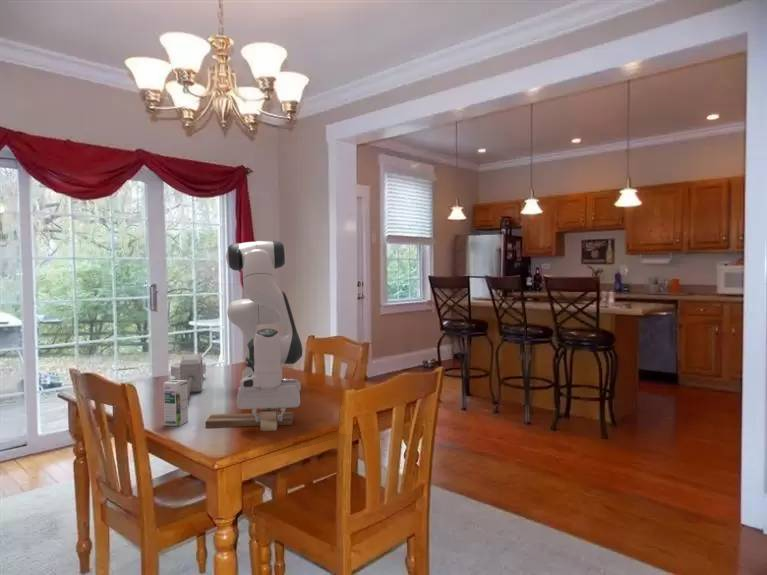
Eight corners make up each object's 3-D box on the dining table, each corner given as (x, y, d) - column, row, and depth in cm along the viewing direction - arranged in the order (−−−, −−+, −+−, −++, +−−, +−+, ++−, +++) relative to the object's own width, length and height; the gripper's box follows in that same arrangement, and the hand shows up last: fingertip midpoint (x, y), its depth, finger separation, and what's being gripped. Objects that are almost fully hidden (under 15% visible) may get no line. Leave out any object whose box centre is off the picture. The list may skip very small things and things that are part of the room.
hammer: (192, 385, 193) (201, 352, 221) (170, 387, 191) (182, 353, 219) (195, 421, 197) (203, 384, 225) (173, 423, 196) (184, 385, 224)
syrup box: (163, 425, 174) (162, 382, 173) (173, 420, 179) (172, 378, 179) (179, 426, 173) (178, 383, 172) (188, 421, 178) (187, 379, 178)
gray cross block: (184, 376, 251) (184, 359, 250) (212, 377, 247) (212, 361, 246) (163, 383, 236) (163, 366, 236) (193, 385, 232) (192, 367, 232)
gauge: (265, 419, 180) (265, 399, 180) (280, 418, 181) (279, 399, 180) (260, 430, 168) (260, 409, 168) (276, 430, 168) (276, 409, 168)
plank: (211, 420, 179) (211, 414, 179) (293, 417, 182) (293, 411, 182) (205, 427, 171) (205, 421, 171) (291, 424, 174) (291, 418, 174)
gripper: (301, 376, 173) (301, 417, 174) (238, 378, 172) (239, 419, 172) (299, 380, 167) (300, 422, 168) (234, 382, 165) (235, 425, 166)
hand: (269, 421), depth 170 cm, fingers open, 5 cm apart
